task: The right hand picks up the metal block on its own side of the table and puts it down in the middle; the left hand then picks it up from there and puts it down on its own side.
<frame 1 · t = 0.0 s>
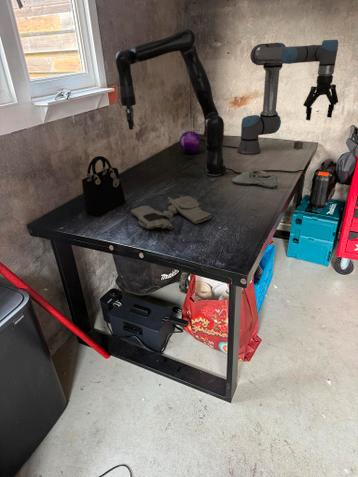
left hand: (131, 127, 177), 29 cm above the table, tool pointing down, fingers open, 8 cm apart
right hand: (318, 118, 178), 28 cm above the table, tool pointing down, fingers open, 13 cm apart
metal block: (298, 148, 230), on the table
boot: (210, 143, 256), on the table
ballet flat: (254, 184, 175), on the table
decorative orb: (190, 153, 234), on the table
handbag: (106, 207, 159), on the table
pair of gloves: (170, 217, 147), on the table
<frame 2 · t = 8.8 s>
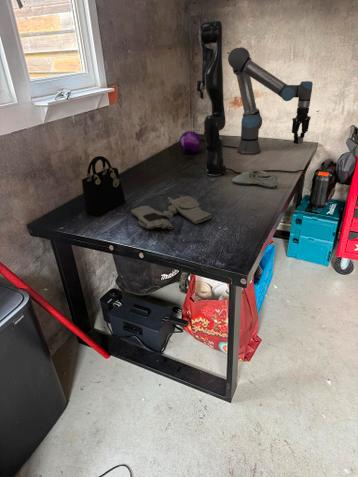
left hand: (208, 98, 203), 37 cm above the table, tool pointing down, fingers open, 8 cm apart
right hand: (298, 142, 228), 4 cm above the table, tool pointing down, fingers closed on metal block, 4 cm apart
metal block: (297, 143, 229), point 3 cm above the table, touching right hand
everything else where it was.
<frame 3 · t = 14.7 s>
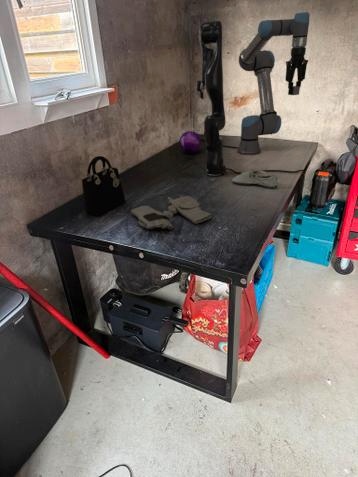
left hand: (208, 98, 203), 37 cm above the table, tool pointing down, fingers open, 8 cm apart
right hand: (293, 94, 188), 39 cm above the table, tool pointing down, fingers closed on metal block, 4 cm apart
metal block: (293, 94, 189), point 38 cm above the table, touching right hand
everything else where it was.
when the right hand's fingers open (0 cm above the table, at t = 21.2 s): metal block stays where it is, on the table.
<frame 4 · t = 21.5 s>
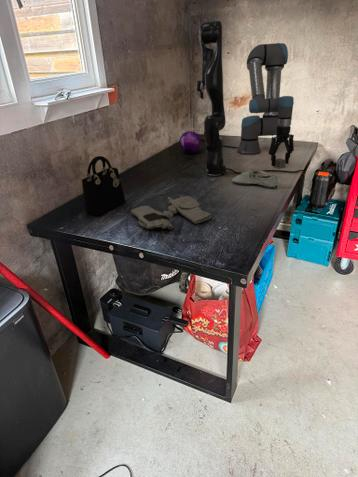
left hand: (208, 98, 203), 37 cm above the table, tool pointing down, fingers open, 8 cm apart
right hand: (279, 164, 197), 1 cm above the table, tool pointing down, fingers open, 9 cm apart
metal block: (279, 166, 198), on the table
everything else where it was.
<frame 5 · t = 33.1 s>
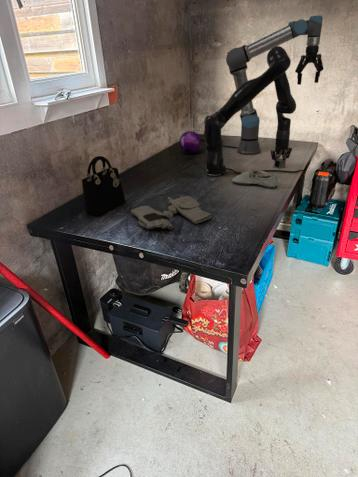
left hand: (279, 165, 198), 0 cm above the table, tool pointing down, fingers closed on metal block, 4 cm apart
right hand: (307, 83, 213), 41 cm above the table, tool pointing down, fingers open, 13 cm apart
metal block: (279, 166, 198), on the table, touching left hand
everything else where it was.
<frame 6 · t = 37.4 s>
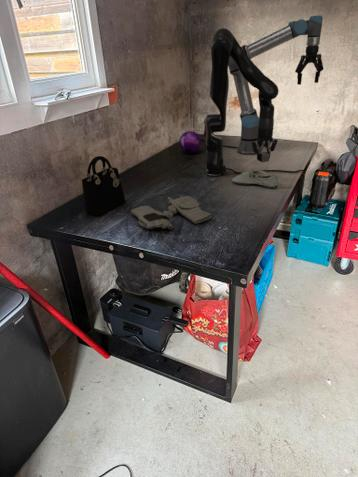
left hand: (263, 159, 174), 11 cm above the table, tool pointing down, fingers closed on metal block, 4 cm apart
right hand: (307, 83, 213), 41 cm above the table, tool pointing down, fingers open, 13 cm apart
metal block: (263, 160, 174), point 11 cm above the table, touching left hand
everything else where it was.
when the left hand's fingers open (1 cm above the table, at t = 41.9 s): metal block stays where it is, on the table.
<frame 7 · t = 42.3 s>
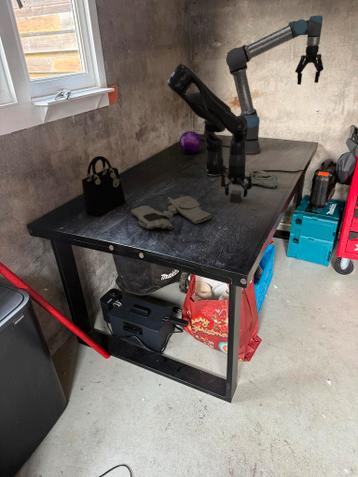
left hand: (235, 195, 157), 2 cm above the table, tool pointing down, fingers open, 8 cm apart
right hand: (307, 83, 213), 41 cm above the table, tool pointing down, fingers open, 13 cm apart
metal block: (235, 200, 159), on the table
everything else where it was.
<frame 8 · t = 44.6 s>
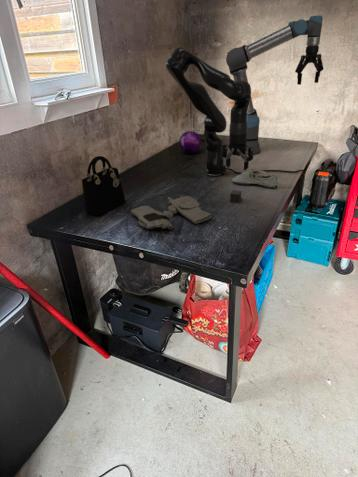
left hand: (236, 168, 151), 16 cm above the table, tool pointing down, fingers open, 8 cm apart
right hand: (307, 83, 213), 41 cm above the table, tool pointing down, fingers open, 13 cm apart
nothing on the table moved.
at the end: metal block inside the target area (0.1 cm from its centre), on the table; metal block tilted 0°; the two hands never held the metal block at the same time; the left hand is holding nothing; the right hand is holding nothing; metal block at rest at the end (0.0 cm/s) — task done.
